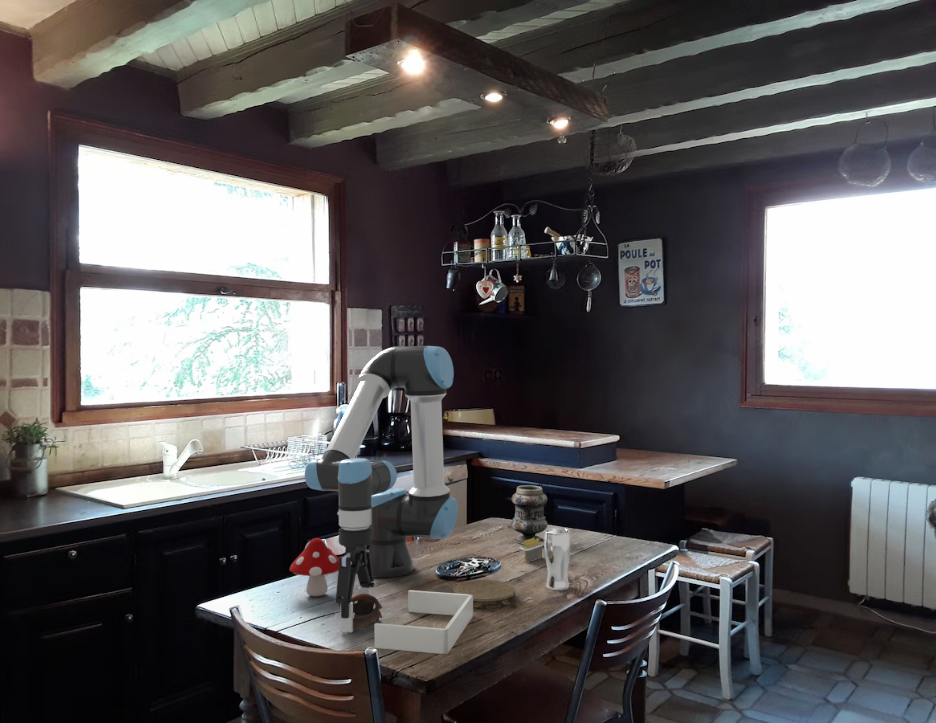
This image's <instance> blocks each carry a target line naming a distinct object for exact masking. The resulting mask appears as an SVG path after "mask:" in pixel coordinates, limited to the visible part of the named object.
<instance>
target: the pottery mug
mask: <svg viewBox="0 0 936 723" xmlns="http://www.w3.org/2000/svg"><path fill="white" fill-rule="evenodd" d="M351 602H353V632H355V630H357V629H361V628H366V627H370V626H371V625H372V624H375V623H376V621H379V620H380V619H382V618H383V614H382V613H381V611H380V610H381V609H383V606H382V604H381V603H380V602H379V600H378V598H377V597H376V596H374V595H372V594H370V595H369V594H358V593H357V594H355V595H354V596H353V595H352V598H351ZM338 606H339V608H340V603H338ZM374 606H375V607H374Z"/></svg>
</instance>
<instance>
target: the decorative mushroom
mask: <svg viewBox="0 0 936 723" xmlns="http://www.w3.org/2000/svg"><path fill="white" fill-rule="evenodd" d="M304 546H305V547H304V549H303V551H302V552H301V553H300V554H299V555H298V556H297V557H296V558H295V559H294V561H292V563H291V564H290V567H289V572H291V573H293V574H295V575H298V576H305V577H308V580H307V583H306V584H307V585H306V588H305V591H306V592H305V593H306V594H307V595H308V596H311V597H321V596H324V595H326V594H327V592H328V591H329V590H328V582H327V580H326V577H325V576H326V575H331V574H334V573H337V572H339V557H338V556H337V555H336V554H335V553H334V552H333V550H332V548H331V547H329V546H328V545H327V543H326V542H325V541H324V540H323V539H321V538H318V537H315V538H312V539H311V540H309V541H308V542H307V543H306V545H304Z"/></svg>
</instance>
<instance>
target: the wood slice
mask: <svg viewBox="0 0 936 723" xmlns="http://www.w3.org/2000/svg"><path fill="white" fill-rule="evenodd" d="M452 593H456V594H470V595H473V611H474V610H476V611H492V610H500V609H505V608H507V607H510V606H512V605H514V604H515V602H516V587H515V586H514V585H513V584H511V583H509V582H506V581H503V580H497V579H473V580H472V579H471V580H466V581H462V582H460V583H458V584H455V585H454V586H453V588H452Z"/></svg>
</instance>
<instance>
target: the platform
mask: <svg viewBox="0 0 936 723" xmlns="http://www.w3.org/2000/svg"><path fill="white" fill-rule="evenodd" d="M523 542H524V544H521V545H520V546H519V549H520V550H522V551H524V562H525V563H526V564H528V563H527V562H529V563H531V562H530V561H532V560H535V559H538V558H540V557H542V558H543V546H544V542H539V539H536V540H535V538H532V539H529V540H526V541H523ZM538 560H539V559H538ZM535 561H536V560H535ZM532 562H533V561H532Z"/></svg>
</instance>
